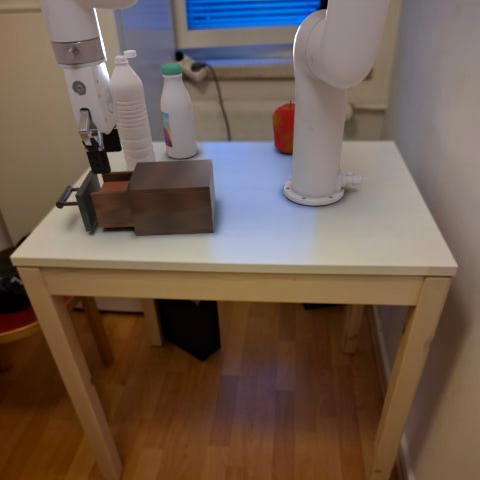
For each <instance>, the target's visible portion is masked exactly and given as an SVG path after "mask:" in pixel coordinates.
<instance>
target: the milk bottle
mask: <svg viewBox="0 0 480 480" xmlns="http://www.w3.org/2000/svg"><path fill="white" fill-rule="evenodd" d="M160 68H161V76H162V78H163V88H162V92H161V95H160V103H159V105H160V116H161V123H162V129H163V136H164V143H165V149H166V154H167V156H168V157H169V158H171V159H176V160H177V159H178V160H179V159H182V160H183V159H188V158H191V157H194V156H195V155H196V154H197V153H198V145H197V134H196V125H195V124H196V123H195V116H194V108H193V102H192V99H191V96H190V94H189V92H188V90H187V89H186V86H185V84H184V81H183V74H184V73H183V67H182V64H181V63H179V62H168V63H164V64H162V65H161V66H160Z"/></svg>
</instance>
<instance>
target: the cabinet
mask: <svg viewBox="0 0 480 480" xmlns="http://www.w3.org/2000/svg"><path fill="white" fill-rule="evenodd" d="M215 192H216V191H215V178H214V166H213V159H190V160H164V161H163V160H162V161H160V160H159V161H156V162H137V164H136V166H135V169H134V171H133V174H132V176H131V179H130V181H129V183H128V186H127V188H126V193H127V198H128V202H129V207H130V211H131V216H132V220H133V224H134V227H133V229H134V233H135V236H137V237H138V236H139V237H140V236H161V235H162V236H163V235H186V234H190V235H191V234H212V233H215V217H216V193H215Z"/></svg>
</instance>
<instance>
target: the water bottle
mask: <svg viewBox="0 0 480 480" xmlns="http://www.w3.org/2000/svg"><path fill="white" fill-rule="evenodd" d="M122 53H123V55H116V56H114V65H115V66H114V67H113V71H112V74H111V76H110V81H111V85H112V89H113V92H114V96H115V100H116V104H117V108H118V112H119V119H118V121H117V123H116V125H117V129H118V134H119V137H120V142H121V147H122V153H123V154H124V155H123V156H124V160H125V163H126V164H125V165H126V171H134V169H135V166H136V164H137V162H157V161H156V156H155V155H156V154H155V150H154V145H153V137H152V134H151V125H150V122H149V115H148V110H147V104H146V103H147V102H146V97H145V90H144V85H143V81H142V80H141V78H140V77H139V75H138V74H137V73H136V72H135V70H134V69H133V68H132V67H131V65H130V64H129V62H130V61H129V60H128V59H130V58H131V59H132V58H136V57H137V56H138V55H137V51H136V50H135V49H127V50H124V51H122Z"/></svg>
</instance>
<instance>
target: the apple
mask: <svg viewBox="0 0 480 480" xmlns="http://www.w3.org/2000/svg"><path fill="white" fill-rule="evenodd" d="M294 116H295V102H293V101H292V100H291V99H290V101H289V102H288V103H284V104H282V105H280V106H277V107H276V108H275V109H274V111H273V113H272V117H271V118H272V131H273V143H274V144H273V145H274V147H275V148H276V149H277V150H278V151H279V152H280V153H283V154H289V155H291V154H292V155H293V138H294Z"/></svg>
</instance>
